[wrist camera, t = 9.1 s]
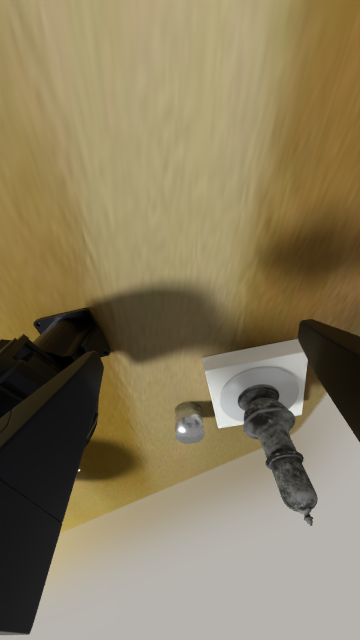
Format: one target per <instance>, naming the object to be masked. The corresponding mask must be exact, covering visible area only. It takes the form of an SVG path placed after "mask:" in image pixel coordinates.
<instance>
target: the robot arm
mask: <svg viewBox="0 0 360 640" xmlns="http://www.w3.org/2000/svg"><path fill="white" fill-rule="evenodd" d="M84 312H86V313H87V314H84ZM38 323H40V324H41V325H40V324H38ZM34 326H35V328H36V329H37V330H38V332H39V333H40V336H39V337H38V338H37V339H36V340H35V341H34V342H31V341H30V340H29V338H28V337H27V336H25V335H24V334H23V335H22V336H20V337H19V338H18V339H16V338H14V339H13V340H3V339H1V340H0V635H27V634H30V631H31V629H32V626H33V623H34V619H35V616H36V613H37V609H38V606H39V602H40V599H41V595H42V592H43V588H44V585H45V582H46V578H47V575H48V571H49V568H50V564H51V561H52V557H53V554H54V551H55V547H56V544H57V541H58V537H59V534H60V530H61V527H62V522H63V519H64V516H65V512H66V509H67V505H68V502H69V499H70V495H71V492H72V488H73V485H74V481H75V478H76V474H77V471H78V468H79V464H80V461H81V457H82V454H83V450H84V448H85V447H86V445H87V444H88V443H89V441H90V438H91V436H92V435H93V433H94V430H95V428H96V425H97V419H98V401H99V393H100V387H101V381H102V376H103V370H104V366H103V363H102V361H101V359H100V358H101V357H104V356H108V355H109V354H110V352H111V350H110V348H109V346H108V344H107V340H106V338H105V336H104V334H103V332H102V330H101V328H100V326H99V325H98V324H97V323H96V321H95V319H94V317H93V315H92V314H91V312H90V310H88V309H86V308H84V309H80V310H75V311H71V312H67V313H62V314H58V315H54V316H49V317H45V318H41V319H37V320H36V321H35V322H34ZM298 341H299V343H300V345H301V347H302V349H303V351H304V353H305V355H306V357H307V359H308V361H309V363H310V365H311V367H312V369H313V371H314V373H315V374H316V376H317V378H318V379H319V381H320V382H321V384H322V385H323V387H324V388H325V390H326V391H327V393H328V394H329V396H330V397H331V399H332V401H333V402H334V404H335V405H336V407H337V408H338V410H339V411H340V413H341V414H342V416H343V417H344V419H345V420H346V422H347V423H348V425H349V426H350V428H351V430H352V431H353V433H354V434H355V436H356V437H357V439H358V440H359V442H360V337H359V336H357V335H354V334H351V333H349V332H346V331H343V330H340V329H338V328H335V327H332V326H329V325H327V324H324V323H321V322H318V321H316V320H313V319H308V320H302V321H301V322H300V324H299V331H298ZM105 351H107V352H105Z"/></svg>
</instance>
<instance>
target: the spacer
mask: <svg viewBox="0 0 360 640" xmlns="http://www.w3.org/2000/svg"><path fill="white" fill-rule="evenodd" d="M175 433H176V439H177V440H178V441H180V442H182V443H196V442H198V441H200V440H202V439H203V437H204V428H203V420H202V413H201V407H200V406H199V405H198V404H197V403H195V402H183V403H181V404H179V405H178V406H177V407H176V409H175Z"/></svg>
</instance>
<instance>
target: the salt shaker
mask: <svg viewBox="0 0 360 640" xmlns="http://www.w3.org/2000/svg"><path fill="white" fill-rule="evenodd" d="M278 400H279V392H278V390H277V389H276V388H275V387H273V386H271V385H266V384H260V385H254V386H251V387H249V388H247V389H245V390H244V391H243V392H242V393H241V394H240V395H239V397H238V405H239V407H240V408H241V409H242V410H244V411H245V412H244V424H243V430H244V432H245V434H246V435H248V436H249V437H251V438H254V439H259V440H260V442H261V444H262V446H263V449H264V451H265V454H266V457H267V460H266V466H267V467H268V468H269V469H271V470H272V472H273V474H274V477H275V480H276V483H277V485H278V488H279V491H280V494H281V497H282V499H283V501H284V503H285V504H286V505H287V506H288V507H289V508H290V509H292V510H294V511H298V512H300V513H301V514H304V515H305V518H304V520H306V521H307V523H308V524H310V526H312V523H313V521H312V519H313V517H311V516H310V514H309V512H311V509H313V508H314V507H315V505H316V504H317V495H316V492H315V490H314V488H313V486H312V484H311V482H310V479H309V478H308V475H307V473H306V471H305V469H304V467H303V465H302V462H303V456H302V454H300V453H299V452H297V451H296V449H295V447H294V444H293V443H292V440H291V438H290V435H289V431H290V430H291V429H292V428H293V426H294V424H295V416H294V414H293V413H292V412H291V411H289V410H288V409H287V408H286V407H285V406H284V405H283V404H282V403H281V402H279V401H278Z"/></svg>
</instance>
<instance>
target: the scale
mask: <svg viewBox="0 0 360 640" xmlns="http://www.w3.org/2000/svg"><path fill="white" fill-rule="evenodd" d="M202 358H203V364H204V369H205V374H206V378H207V382H208V386H209V391H210V395H211V399H212V403H213V408H214V412H215V416H216V420H217V425H218V428H224V427H230V426H236V425H242V424H244V412H245V411H244V410H242V409H241V408H240V407H239V405H238V397H239V395H240V394H241V393H242V392H243V391H244V390H245V389H247V388H249V387H251V386H254V385H260V384H266V385H271V386H273V387H275V388H276V389H277V390H278V392H279V400H278V401H279V402H281V403H282V404H283V405H284V406H285V407H286V408H287V409H288V410H289V411H291V412H292V413H293V414H294V416H297V415H302V407H303V398H304V389H305V380H306V371H307V362H308V359H307V357H306V355H305V353H304V351H303V349H302V347H301V345H300V343H299V341H298V339H294V340H289V341H284V342H279V343H273V344H268V345H263V346H258V347H253V348H248V349H243V350H238V351H233V352H228V353H223V354H218V355H212V356H207V357H202Z"/></svg>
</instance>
